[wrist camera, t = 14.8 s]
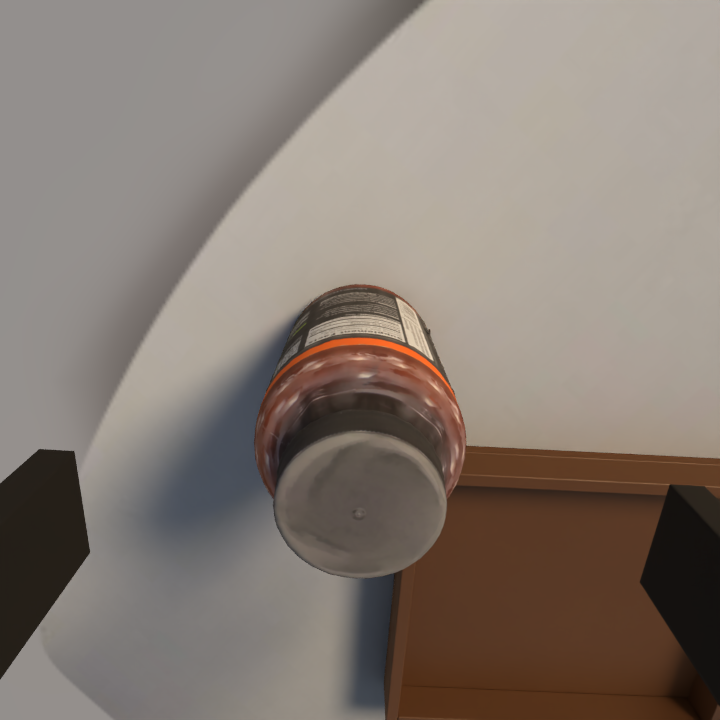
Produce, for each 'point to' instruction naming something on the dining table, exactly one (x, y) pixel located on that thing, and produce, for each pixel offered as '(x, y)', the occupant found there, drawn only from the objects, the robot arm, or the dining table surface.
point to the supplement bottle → (360, 435)
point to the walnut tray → (544, 595)
